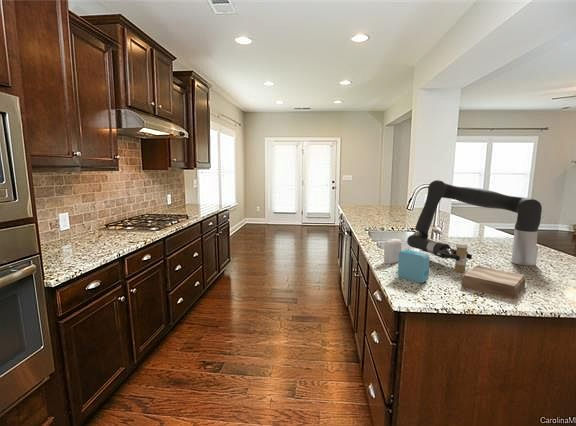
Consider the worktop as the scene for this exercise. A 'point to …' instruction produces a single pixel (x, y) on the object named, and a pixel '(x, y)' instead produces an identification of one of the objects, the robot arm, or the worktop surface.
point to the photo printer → (392, 250)
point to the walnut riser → (494, 281)
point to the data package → (413, 266)
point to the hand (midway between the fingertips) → (465, 257)
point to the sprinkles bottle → (461, 256)
